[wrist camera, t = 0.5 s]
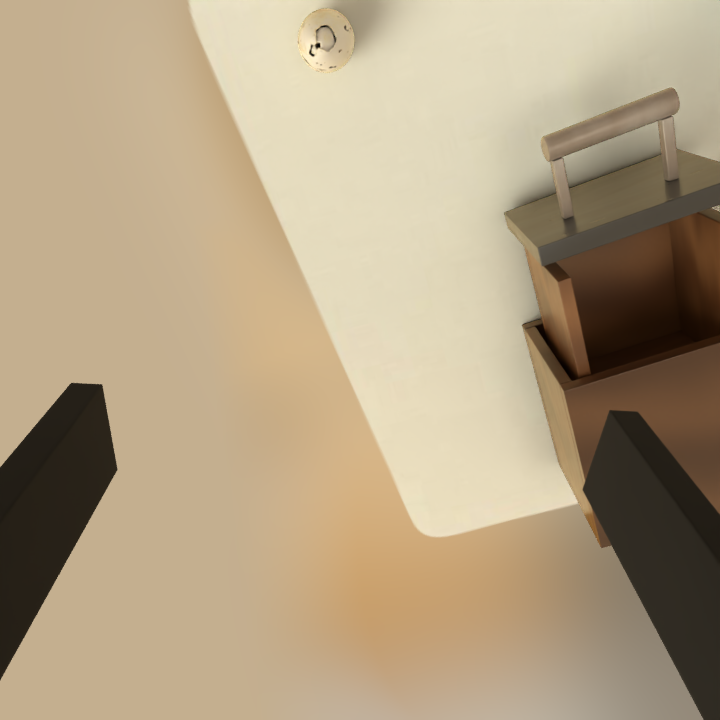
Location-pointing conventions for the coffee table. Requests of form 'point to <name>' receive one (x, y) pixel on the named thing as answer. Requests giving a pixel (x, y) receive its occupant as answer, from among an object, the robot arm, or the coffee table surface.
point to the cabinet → (634, 393)
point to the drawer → (624, 246)
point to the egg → (326, 40)
